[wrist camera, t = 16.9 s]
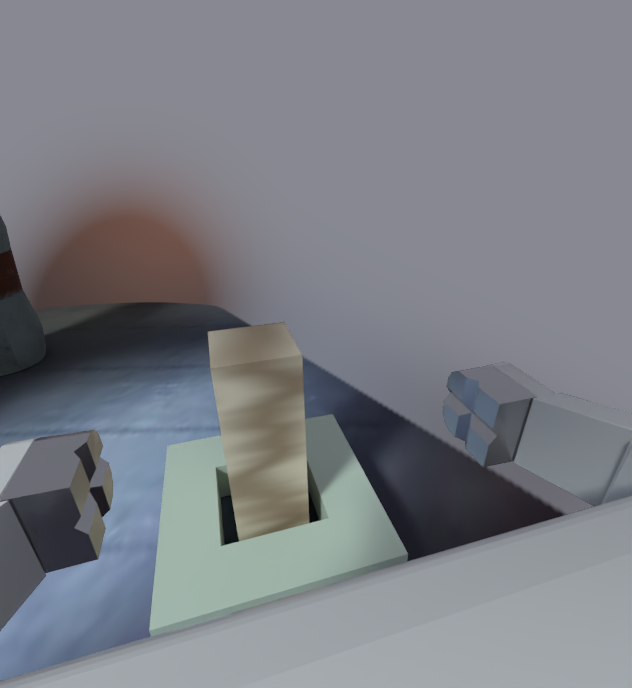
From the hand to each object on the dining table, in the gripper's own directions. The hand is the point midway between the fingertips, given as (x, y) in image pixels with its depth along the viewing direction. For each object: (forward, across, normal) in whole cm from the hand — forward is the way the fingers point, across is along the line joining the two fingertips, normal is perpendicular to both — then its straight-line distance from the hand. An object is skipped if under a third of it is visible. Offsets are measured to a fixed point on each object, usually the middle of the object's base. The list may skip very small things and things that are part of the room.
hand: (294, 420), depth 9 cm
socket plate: (+12, 0, +18) cm, 21 cm away
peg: (+12, 0, +18) cm, 21 cm away
